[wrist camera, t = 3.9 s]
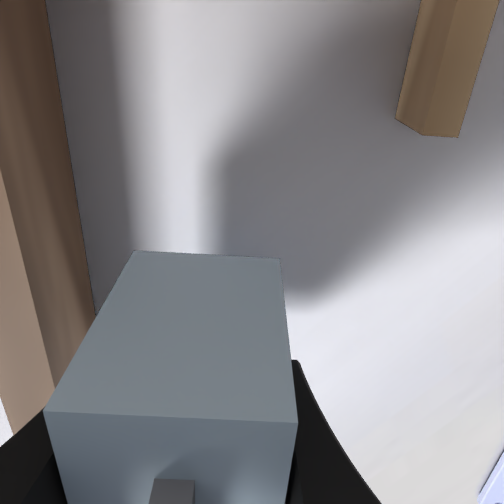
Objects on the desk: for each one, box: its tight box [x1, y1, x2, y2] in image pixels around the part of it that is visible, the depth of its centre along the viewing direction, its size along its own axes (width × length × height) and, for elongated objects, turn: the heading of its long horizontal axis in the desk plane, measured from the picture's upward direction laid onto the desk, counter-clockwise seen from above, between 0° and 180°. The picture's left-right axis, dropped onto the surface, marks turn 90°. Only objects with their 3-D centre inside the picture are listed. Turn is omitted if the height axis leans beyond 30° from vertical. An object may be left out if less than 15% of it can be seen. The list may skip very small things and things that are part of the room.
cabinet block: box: [43, 250, 298, 504], centre depth 11 cm, size 4×6×7 cm
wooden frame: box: [0, 0, 499, 435], centre depth 13 cm, size 14×19×4 cm
